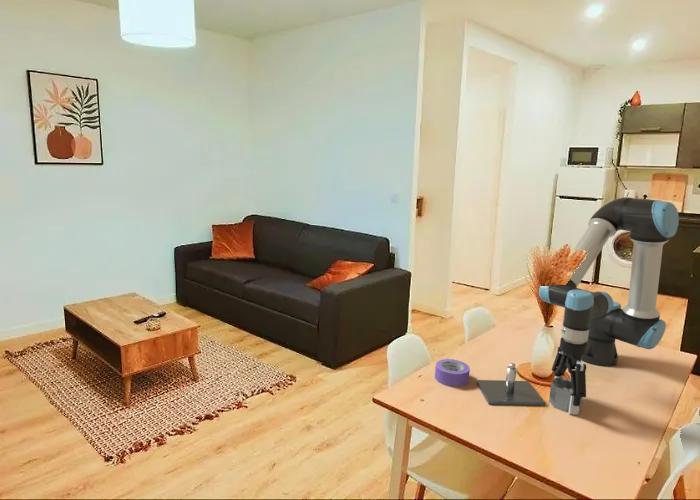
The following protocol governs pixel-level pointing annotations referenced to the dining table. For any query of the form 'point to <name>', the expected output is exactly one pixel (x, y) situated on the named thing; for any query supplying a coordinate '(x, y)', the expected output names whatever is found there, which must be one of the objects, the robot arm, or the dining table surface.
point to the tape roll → (452, 372)
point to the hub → (561, 394)
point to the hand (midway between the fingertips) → (564, 404)
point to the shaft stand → (510, 390)
